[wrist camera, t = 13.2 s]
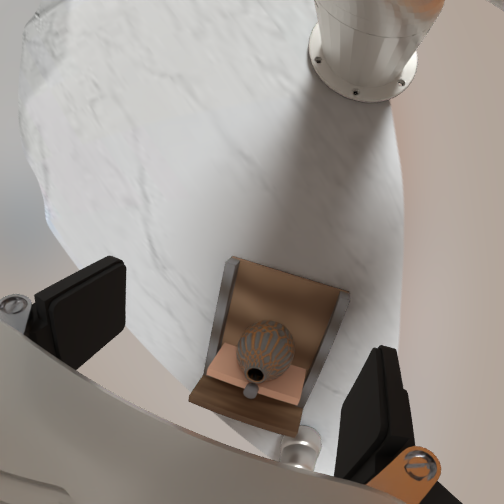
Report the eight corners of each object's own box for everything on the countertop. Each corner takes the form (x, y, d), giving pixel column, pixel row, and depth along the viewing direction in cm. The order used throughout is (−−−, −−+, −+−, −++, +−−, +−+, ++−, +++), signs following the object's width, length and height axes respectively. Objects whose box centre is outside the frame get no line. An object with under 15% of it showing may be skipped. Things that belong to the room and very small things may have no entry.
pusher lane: (232, 256, 39) (209, 276, 32) (349, 291, 37) (351, 320, 30) (208, 370, 45) (188, 401, 38) (302, 402, 43) (294, 438, 36)
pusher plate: (224, 341, 42) (204, 372, 35) (306, 368, 40) (299, 404, 33) (222, 350, 43) (202, 381, 36) (303, 376, 41) (295, 412, 34)
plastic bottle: (322, 420, 43) (303, 529, 24) (323, 446, 44) (305, 546, 26) (282, 419, 45) (248, 523, 26) (286, 445, 46) (257, 541, 28)
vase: (257, 361, 42) (239, 402, 34) (238, 319, 41) (214, 355, 33) (304, 351, 40) (295, 393, 32) (287, 306, 39) (273, 342, 30)
